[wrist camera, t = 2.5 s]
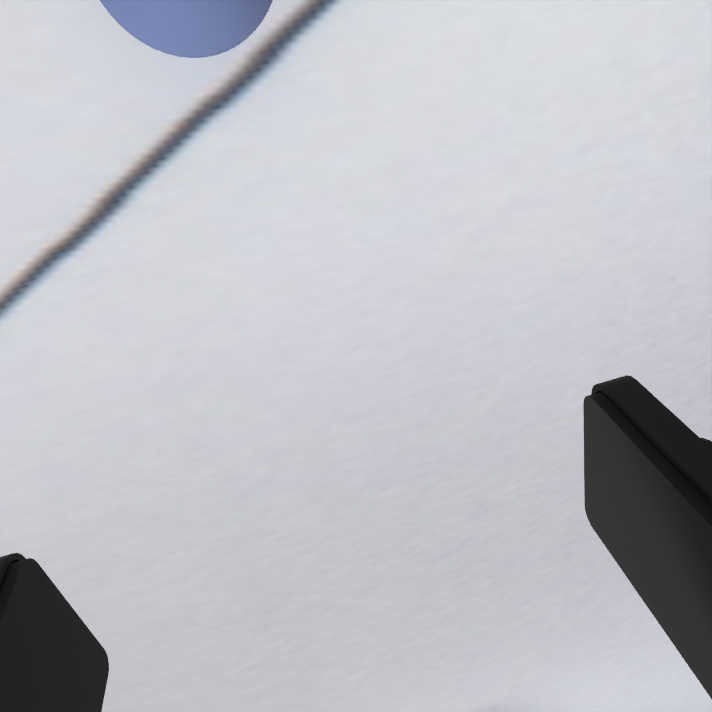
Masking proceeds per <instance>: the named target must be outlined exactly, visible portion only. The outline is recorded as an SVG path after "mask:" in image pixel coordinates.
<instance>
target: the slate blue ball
mask: <svg viewBox="0 0 712 712" xmlns="http://www.w3.org/2000/svg"><path fill="white" fill-rule="evenodd" d="M100 1H101V3H102V4H103V5H104V7H105V8H106V9H107V11H108V12H109V13H110V15H111V16H112V17H113V18H114V19H115V20H116V21H117V22H118V23H119V24H120V25H121V26H122V27H123V28H124V29H125V30H126V31H128V32H129V33H130V34H131V35H133V36H134V37H135V38H137V39H138V40H140V41H141V42H143V43H145V44H146V45H148V46H150V47H152V48H154V49H156V50H159V51H162V52H164V53H167V54H171V55H175V56H180V57H189V58H198V57H208V56H213V55H217V54H220V53H223V52H226V51H228V50H230V49H232V48H234V47H236V46H237V45H239V44H240V43H241V42H243V41H244V40H246V39H247V38H248V37H249V36H250V35H251V34H252V33H253V32H254V31H255V30H256V28H257V27H258V26H259V24H260V23H261V22H262V20H263V19H264V17H265V15H266V13H267V12H268V10H269V8H270V5H271V3H272V0H100Z"/></svg>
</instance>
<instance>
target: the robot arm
mask: <svg viewBox="0 0 712 712" xmlns="http://www.w3.org/2000/svg"><path fill="white" fill-rule="evenodd" d="M584 480H585V510H586V514H587V517H588V520H589V522H590V524H591V526H592V527H593V529H594V530H595V532H596V533H597V535H598V536H599V538H600V539H601V540H602V542H603V543H604V545H605V546H606V548H607V549H608V550H609V552H610V553H611V555H612V556H613V558H614V559H615V561H616V562H617V563H618V565H619V566H620V568H621V569H622V571H623V572H624V573H625V575H626V576H627V578H628V579H629V581H630V582H631V584H632V585H633V586H634V588H635V589H636V591H637V592H638V594H639V595H640V596H641V598H642V599H643V601H644V602H645V604H646V605H647V607H648V608H649V609H650V611H651V612H652V614H653V615H654V617H655V618H656V619H657V621H658V622H659V624H660V625H661V627H662V628H663V630H664V631H665V632H666V634H667V635H668V637H669V638H670V640H671V641H672V643H673V644H674V645H675V647H676V648H677V650H678V651H679V653H680V654H681V655H682V657H683V658H684V660H685V661H686V663H687V664H688V666H689V667H690V668H691V670H692V671H693V673H694V674H695V676H696V677H697V678H698V680H699V681H700V683H701V684H702V686H703V687H704V689H705V690H706V691H707V693H708V694H709V696H710V697H711V699H712V442H711V441H710V440H707V439H704V438H699V437H698V436H697V435H696V434H695V433H694V432H693V431H691V430H690V429H689V428H688V427H687V426H686V425H685V424H684V423H683V422H682V421H681V420H679V419H678V418H677V417H676V416H675V415H674V414H673V413H672V412H671V411H670V410H669V409H667V408H666V407H665V406H664V405H663V404H662V403H661V402H660V401H659V400H658V399H657V398H655V397H654V396H653V395H652V394H651V393H650V392H649V391H648V390H647V389H646V388H645V387H643V386H642V385H641V384H640V383H639V382H638V381H637V380H636V379H634V378H633V377H631V376H624V377H620V378H617V379H613V380H610V381H606V382H603V383H599V384H596V385H594V387H593V389H592V395H589V396H587V397H585V399H584ZM108 671H109V663H108V657H107V654H106V652H105V650H104V648H103V647H102V646H101V645H100V643H99V642H98V641H97V639H96V638H95V637H94V635H93V634H92V633H91V632H90V630H89V629H88V628H87V626H86V625H85V624H84V622H83V621H82V620H81V619H80V617H79V616H78V615H77V613H76V612H75V611H74V610H73V608H72V607H71V606H70V604H69V603H68V602H67V600H66V599H65V598H64V597H63V595H62V594H61V593H60V591H59V590H58V589H57V587H56V586H55V585H54V584H53V582H52V581H51V580H50V578H49V577H48V576H47V575H46V573H45V572H44V571H43V569H42V568H41V567H40V565H39V564H38V563H37V562H36V561H35V560H34V559H31V558H30V559H26V558H25V557H24V556H22V555H21V554H18V553H14V554H10V555H6V556H3V557H0V712H101V710H102V704H103V699H104V694H105V689H106V683H107V678H108Z"/></svg>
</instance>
